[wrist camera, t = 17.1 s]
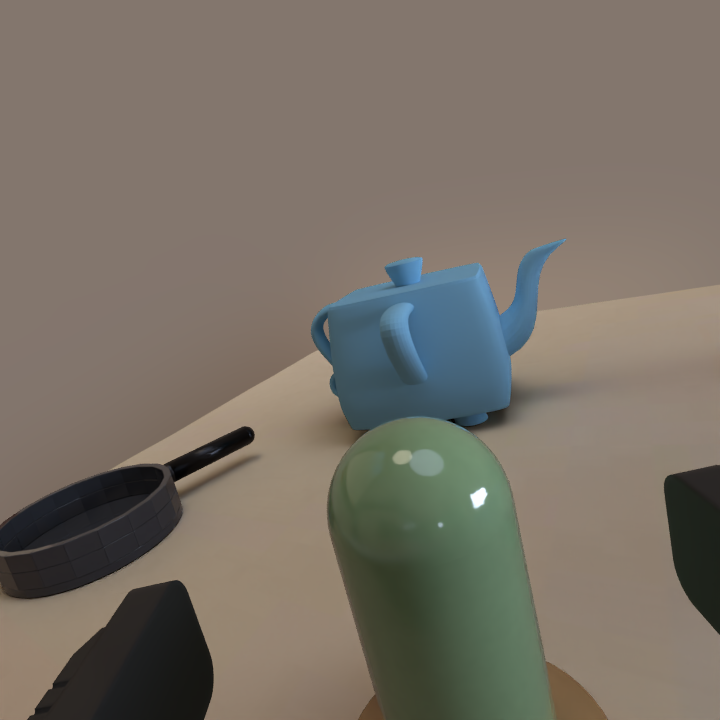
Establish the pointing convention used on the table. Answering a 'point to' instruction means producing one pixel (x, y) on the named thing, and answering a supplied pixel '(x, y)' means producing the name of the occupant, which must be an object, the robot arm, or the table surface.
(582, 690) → the disc
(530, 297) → the teapot
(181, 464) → the pan handle
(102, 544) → the steel pan
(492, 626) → the green capsule
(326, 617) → the table surface
